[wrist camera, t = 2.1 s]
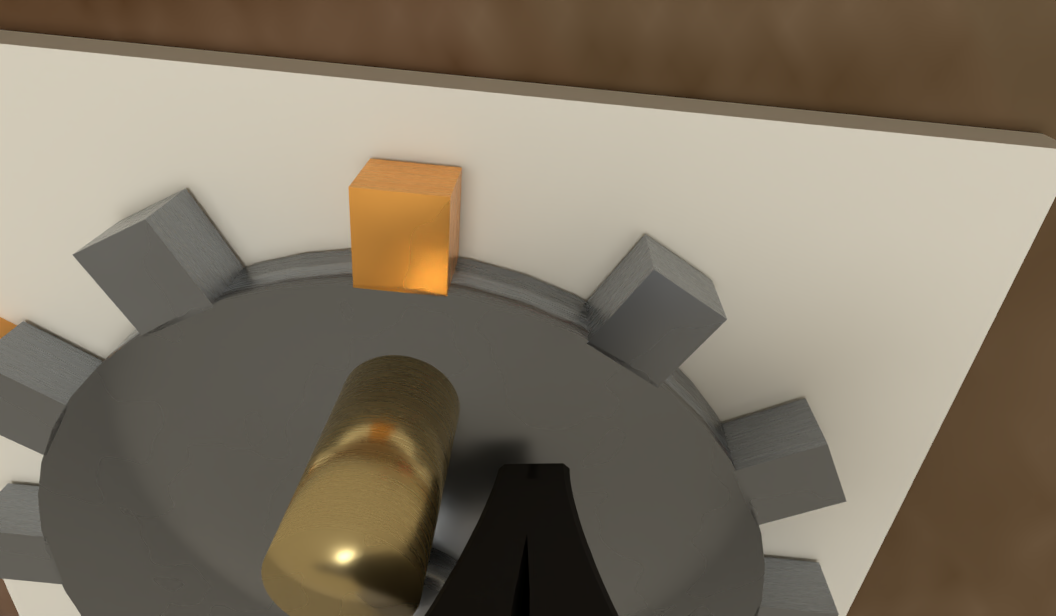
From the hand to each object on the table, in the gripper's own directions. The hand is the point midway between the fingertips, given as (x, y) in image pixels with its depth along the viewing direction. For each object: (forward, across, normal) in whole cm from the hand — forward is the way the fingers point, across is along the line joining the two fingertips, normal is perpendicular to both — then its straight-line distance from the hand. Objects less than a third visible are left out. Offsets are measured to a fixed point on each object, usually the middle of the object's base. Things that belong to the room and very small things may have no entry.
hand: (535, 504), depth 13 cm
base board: (+4, +3, +4) cm, 6 cm away
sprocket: (+2, +3, +4) cm, 6 cm away
